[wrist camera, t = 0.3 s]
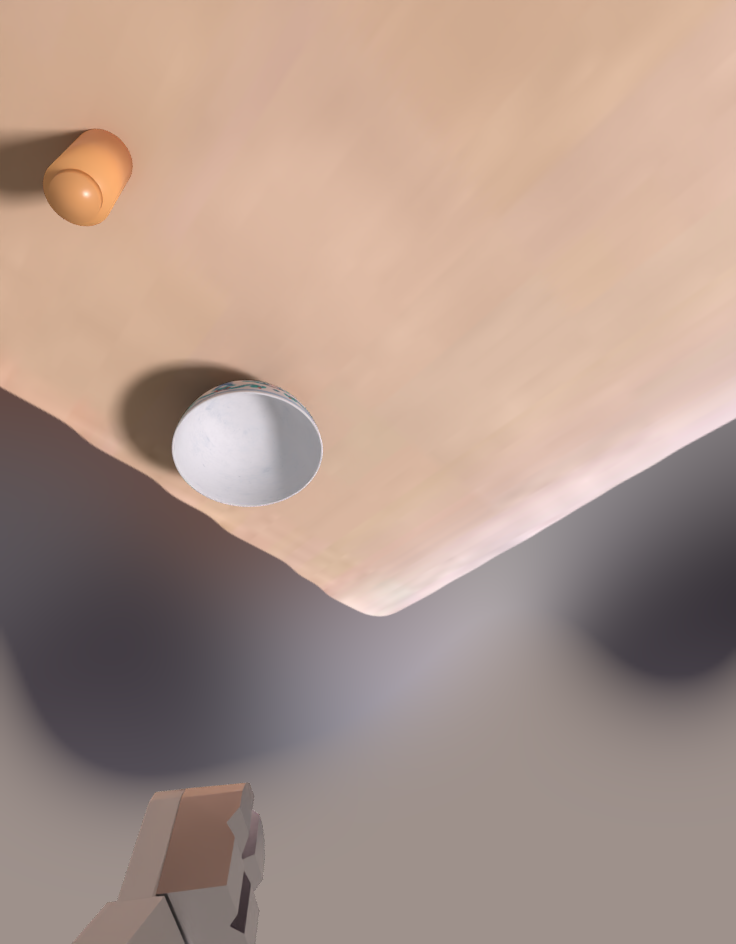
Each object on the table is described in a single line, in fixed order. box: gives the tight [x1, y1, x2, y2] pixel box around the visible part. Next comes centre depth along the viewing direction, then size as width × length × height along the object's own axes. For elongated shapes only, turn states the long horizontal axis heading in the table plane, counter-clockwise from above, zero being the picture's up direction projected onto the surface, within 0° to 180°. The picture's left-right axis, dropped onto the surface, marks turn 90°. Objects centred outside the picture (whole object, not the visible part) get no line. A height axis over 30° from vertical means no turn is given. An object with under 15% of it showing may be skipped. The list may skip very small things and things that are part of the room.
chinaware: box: [172, 380, 323, 507], centre depth 62 cm, size 15×15×8 cm
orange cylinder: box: [43, 129, 133, 226], centre depth 44 cm, size 4×4×10 cm
